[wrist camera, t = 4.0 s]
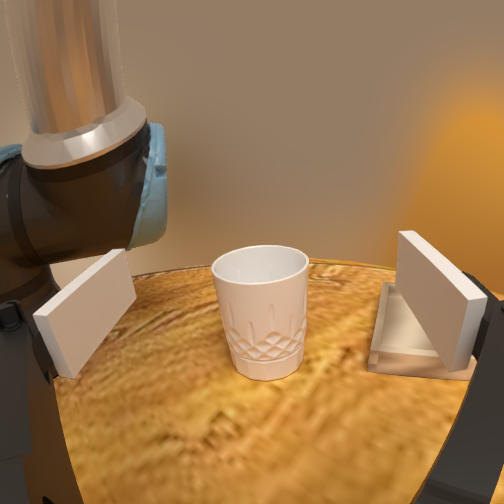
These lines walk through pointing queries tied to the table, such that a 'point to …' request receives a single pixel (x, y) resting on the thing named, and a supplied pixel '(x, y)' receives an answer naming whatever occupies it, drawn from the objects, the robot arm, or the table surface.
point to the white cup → (263, 308)
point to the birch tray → (405, 343)
